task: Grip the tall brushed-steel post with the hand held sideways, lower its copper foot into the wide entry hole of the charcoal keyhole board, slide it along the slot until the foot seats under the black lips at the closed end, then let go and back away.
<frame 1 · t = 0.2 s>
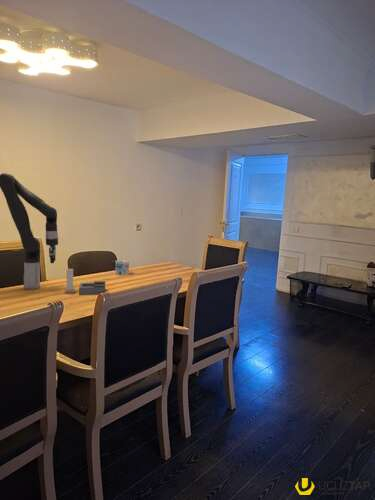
hand: (53, 262, 228), 17 cm above the table, tool pointing down, fingers open, 8 cm apart
keyhole board: (92, 291, 224), on the table
steel post: (70, 292, 221), on the table
light bulb box: (122, 274, 280), on the table
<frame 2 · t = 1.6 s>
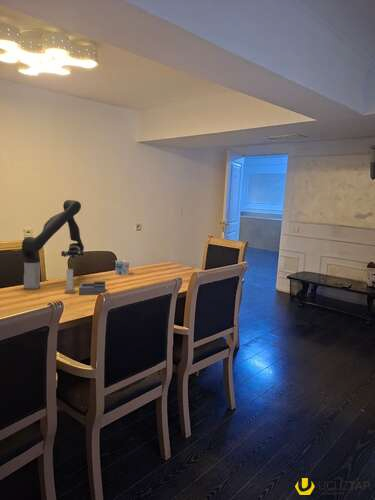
hand: (71, 255, 228), 22 cm above the table, tool horizontal, fingers open, 8 cm apart
nothing on the table moved.
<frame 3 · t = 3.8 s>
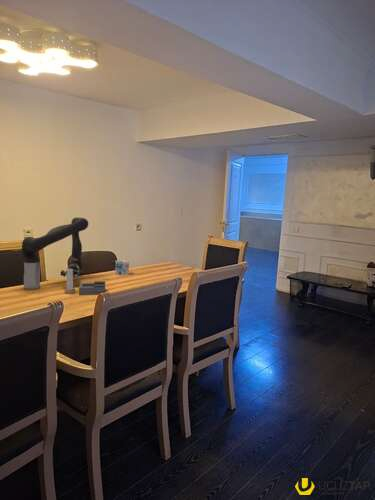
hand: (71, 275, 226), 10 cm above the table, tool horizontal, fingers open, 8 cm apart
nothing on the table moved.
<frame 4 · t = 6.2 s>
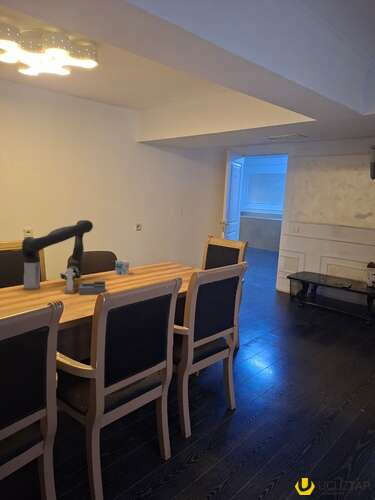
hand: (69, 278, 217), 10 cm above the table, tool horizontal, fingers closed on steel post, 3 cm apart
steel post: (70, 292, 221), on the table, touching gripper
everything else where it was.
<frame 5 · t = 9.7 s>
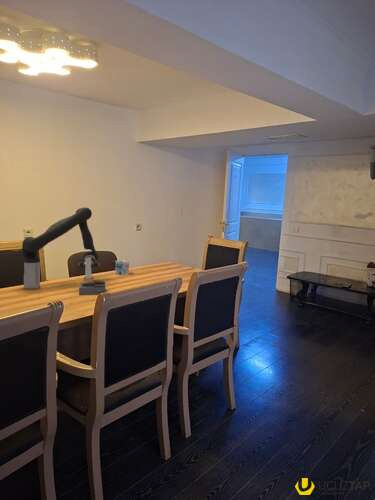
hand: (88, 266, 218), 17 cm above the table, tool horizontal, fingers closed on steel post, 3 cm apart
steel post: (88, 280, 222), point 8 cm above the table, touching gripper
everything else where it was.
when the fingers open (11 cm above the table, at t = 13.2 s): steel post stays where it is, resting on keyhole board.
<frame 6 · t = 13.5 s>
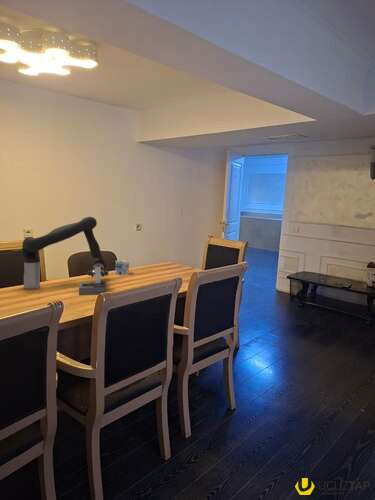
hand: (97, 275, 221), 11 cm above the table, tool horizontal, fingers open, 5 cm apart
steel post: (97, 289, 225), point 1 cm above the table, touching keyhole board
everything else where it was.
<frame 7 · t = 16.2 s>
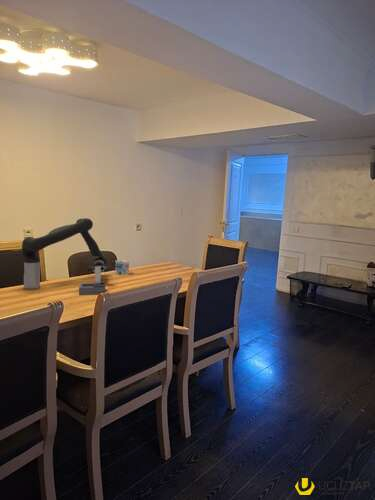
hand: (98, 270, 234), 12 cm above the table, tool horizontal, fingers open, 8 cm apart
nothing on the table moved.
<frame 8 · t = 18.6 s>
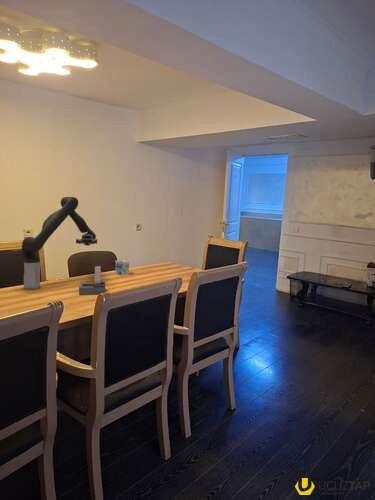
hand: (86, 242, 235), 30 cm above the table, tool horizontal, fingers open, 8 cm apart
nothing on the table moved.
at the end: steel post 0.2 cm from the target spot on the keyhole board, point 1.5 cm above the keyhole board's base; steel post tilted 0°; the gripper is holding nothing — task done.
